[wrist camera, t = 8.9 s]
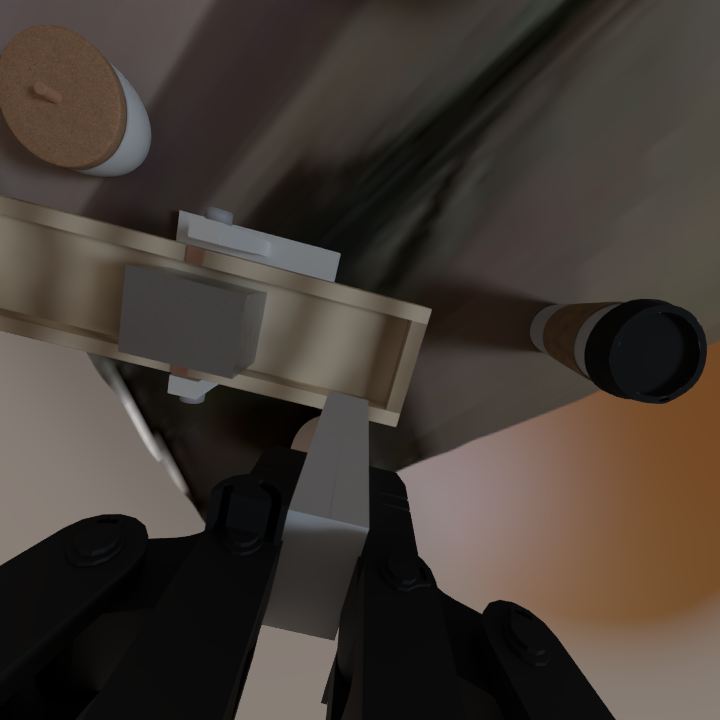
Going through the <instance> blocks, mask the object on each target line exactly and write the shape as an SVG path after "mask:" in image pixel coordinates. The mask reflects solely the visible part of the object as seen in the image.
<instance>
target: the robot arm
mask: <svg viewBox="0 0 720 720" xmlns="http://www.w3.org/2000/svg"><path fill="white" fill-rule="evenodd" d="M407 499H408V497H407V492H406V487H405V484H404V483H403V482H402V480H401V479H400V477H399V476H398V475H397V473H395V472H391V471H387V470H383V469H378V468H374V467H370V466H369V425H368V400H365V399H361V398H357V397H353V396H349V395H345V394H341V393H337V392H333V391H329V393H328V396H327V399H326V402H325V404H324V407H323V410H322V413H321V416H320V419H319V422H318V425H317V428H316V431H315V434H314V436H313V439H312V442H311V445H310V448H309V451H308V453H307V452H303V451H299V450H295V449H290V448H286V447H282V446H278V445H275V446H273V447H271V448H270V449H268V450H266V451H264V452H263V453H262V455H261V456H260V458H259V460H258V461H257V463H256V466H254V468H253V470H252V471H251V473H250V474H245V475H237V476H232V477H230V478H227V479H225V480H222V481H221V482H219V483H218V484H217V485H216V486H215V487H214V488H213V489H212V491H211V497H210V502H209V508H208V514H207V520H206V526H205V530H204V531H203V532H201V533H198V534H194V535H191V536H186V537H178V538H157V539H148V534H147V530H146V527H145V525H144V524H142V523H141V522H140V521H139V520H137V519H136V518H133V517H130V516H126V515H122V514H107V515H106V514H105V515H99V516H95V517H90V518H86V519H82V520H80V521H78V522H76V523H74V524H72V525H69V526H67V527H65V528H63V529H61V530H60V531H58V532H56V533H54V534H53V535H51V536H50V537H48V538H46V539H44V540H43V541H41V542H39V543H38V544H36V545H34V546H33V547H31V548H29V549H28V550H26V551H24V552H22V553H21V554H19V555H17V556H16V557H14V558H13V559H11V560H9V561H7V562H6V563H4V564H3V565H1V566H0V720H234V719H235V715H236V712H237V709H238V705H239V702H240V699H241V696H242V692H243V689H244V685H245V682H246V679H247V676H248V672H249V669H250V665H251V662H252V659H253V655H254V651H255V647H256V643H257V638H258V635H259V631H260V628H261V625H266V626H271V627H275V628H280V629H284V630H289V631H294V632H298V633H303V634H307V635H311V636H316V637H320V638H325V639H329V640H335V637H336V634H337V631H338V627H339V635H338V648H337V652H336V655H335V659H334V662H333V665H332V668H331V672H330V674H329V678H328V681H327V684H326V687H325V691H324V694H323V698H322V701H321V703H323V704H327V714H326V720H616V719H615V718H614V717H613V716H612V714H611V713H610V711H609V710H608V708H607V707H606V705H605V704H604V703H603V701H602V700H601V699H600V697H599V696H598V694H597V693H596V691H595V690H594V689H593V687H592V686H591V684H590V683H589V682H588V681H587V679H586V677H585V676H584V675H583V673H582V672H581V670H580V669H579V668H578V666H577V665H576V664H575V662H574V661H573V659H572V658H571V656H570V655H569V654H568V652H567V651H566V649H565V648H564V647H563V645H562V644H561V642H560V641H559V639H558V638H557V637H556V636H555V635H554V634H553V632H552V631H551V630H550V629H549V628H548V627H547V625H546V624H545V623H544V622H543V621H541V620H540V619H539V618H538V617H536V616H535V615H534V614H533V613H531V612H530V611H529V610H527V609H525V608H523V607H521V606H519V605H517V604H515V603H513V602H508V601H503V600H498V601H495V602H491V603H489V604H488V606H487V607H486V609H485V610H484V611H483V614H481V613H479V612H477V611H475V610H473V609H471V608H469V607H467V606H466V605H464V604H462V603H460V602H458V601H456V600H454V599H452V598H451V597H450V596H448V595H446V594H445V593H443V592H442V591H441V590H440V589H439V588H438V587H437V584H436V581H435V578H434V576H433V574H432V571H431V570H430V568H429V567H428V566H427V564H426V563H425V562H424V561H423V560H422V559H421V558H420V557H419V556H418V552H417V546H416V541H415V536H414V530H413V524H412V519H411V514H410V512H409V511H410V508H409V503H408V501H407ZM327 702H328V703H327Z"/></svg>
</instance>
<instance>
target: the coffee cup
mask: <svg viewBox="0 0 720 720" xmlns="http://www.w3.org/2000/svg"><path fill="white" fill-rule="evenodd" d="M530 337H531V340H532V342H533V344H534V345H535V346H536V347H537V348H538V349H539V350H540V351H542V352H544V353H546V354H547V355H549V356H551V357H553V358H554V359H555V360H557V361H559V362H560V363H562V364H564V365H565V366H567V367H568V368H570V369H572V370H573V371H575V372H577V373H578V374H580V375H581V376H583V377H585V378H586V379H588V380H590V381H592V382H594V384H595V385H596V386H598V387H599V388H600V389H601V390H603V391H605V392H607V393H609V394H612V395H614V396H616V397H620V398H624V399H632V400H636V401H640V402H645V403H654V404H663V403H667V402H669V401H671V400H673V399H675V398H677V397H679V396H681V395H682V394H684V393H686V392H687V391H688V390H689V389H690V388H692V387H693V386H694V384H695V383H696V382H697V381H698V379H699V378H700V376H701V374H702V372H703V369H704V366H705V362H706V355H707V343H706V338H705V334H704V331H703V329H702V326H701V324H700V323H699V321H698V320H697V318H696V317H694V316H693V315H692V314H691V313H690V312H689V311H687V310H685V309H683V308H681V307H677V306H674V305H672V304H670V303H668V302H665V301H661V300H655V299H638V300H631V301H628V302H603V303H582V304H557V305H551V306H548V307H546V308H544V309H542V310H541V311H540V312H539V313H538V314H537V315H536V316H535V317H534V319H533V321H532V324H531V327H530Z"/></svg>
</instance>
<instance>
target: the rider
mask: <svg viewBox="0 0 720 720" xmlns="http://www.w3.org/2000/svg"><path fill="white" fill-rule="evenodd" d="M266 297H267V292H263V291H259V290H255V289H251V288H247V287H243V286H240V285H236V284H232V283H228V282H224V281H220V280H216V279H212V278H208V277H204V276H201V275H197V274H193V273H189V272H185V271H181V270H177V269H173V268H169V267H156V266H142V265H127V264H125V275H124V287H123V298H122V310H121V321H120V333H119V344H118V352H122V353H126V354H130V355H134V356H138V357H142V358H146V359H150V360H155V361H159V362H163V363H167V364H171V365H175V366H179V367H183V368H188V369H192V370H196V371H200V372H204V373H208V374H212V375H217V376H221V377H225V378H229V379H233V378H234V377H236V376H237V375H238V374H240V373H241V372H242V371H244V370H245V369H246V368H248V367H249V366H250V365H252V364H253V363H254V362H255V357H256V351H257V346H258V340H259V335H260V330H261V324H262V319H263V314H264V308H265V303H266Z"/></svg>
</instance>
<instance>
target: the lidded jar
mask: <svg viewBox="0 0 720 720" xmlns="http://www.w3.org/2000/svg"><path fill="white" fill-rule="evenodd" d="M0 107H1V110H2V113H3V116H4V118H5V120H6V122H7V124H8V126H9V127H10V129H11V130H12V132H13V134H14V135H15V136H16V138H17V139H18V140H19V141H20V142H21V144H22V145H23V146H25V147H26V148H27V149H28V150H29V151H30V152H31V153H33V154H34V155H35V156H37V157H38V158H40V159H42V160H44V161H46V162H48V163H50V164H53V165H56V166H59V167H61V168H65V169H70V170H73V171H76V172H79V173H82V174H87V175H92V176H97V177H116V176H122V175H125V174H128V173H130V172H132V171H133V170H135V169H136V168H137V167H139V166H140V165H141V164H142V162H143V161H144V160H145V158H146V156H147V154H148V151H149V148H150V143H151V128H150V122H149V118H148V115H147V112H146V109H145V107H144V105H143V103H142V101H141V99H140V97H139V95H138V94H137V93H136V91H135V90H134V88H133V87H132V86H131V84H130V83H129V82H128V80H127V79H126V78H125V77H124V76H123V75H122V74H121V73H120V71H119V70H118V69H117V68H116V67H115V66H114V65H113V64H112V63H110V62H109V61H108V60H107V59H106V58H105V57H104V56H103V55H102V54H101V53H100V52H99V50H98V49H97V48H95V47H94V46H93V45H92V44H91V43H89V42H88V41H87V40H86V39H84V38H83V37H82V36H80V35H78V34H76V33H75V32H73V31H71V30H68V29H65V28H63V27H58V26H53V25H41V26H35V27H31V28H28V29H26V30H24V31H22V32H21V33H19V34H18V35H16V36H15V37H14V38H13V39H12V40H11V41H10V42H9V43H8V45H7V46H6V48H5V49H4V51H3V53H2V55H1V58H0Z"/></svg>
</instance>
